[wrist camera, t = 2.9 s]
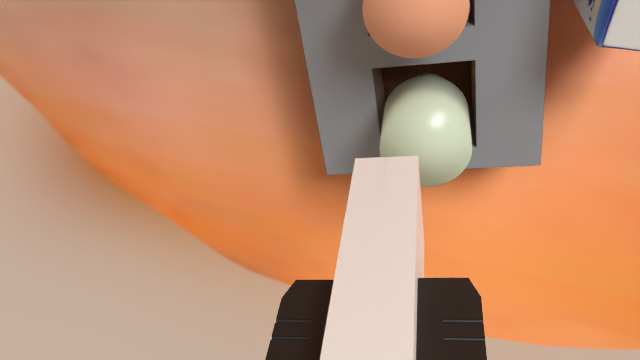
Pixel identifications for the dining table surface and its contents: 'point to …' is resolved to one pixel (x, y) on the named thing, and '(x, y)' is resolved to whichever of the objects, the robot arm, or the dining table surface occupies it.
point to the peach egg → (415, 25)
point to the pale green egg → (428, 127)
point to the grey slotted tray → (472, 45)
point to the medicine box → (612, 22)
